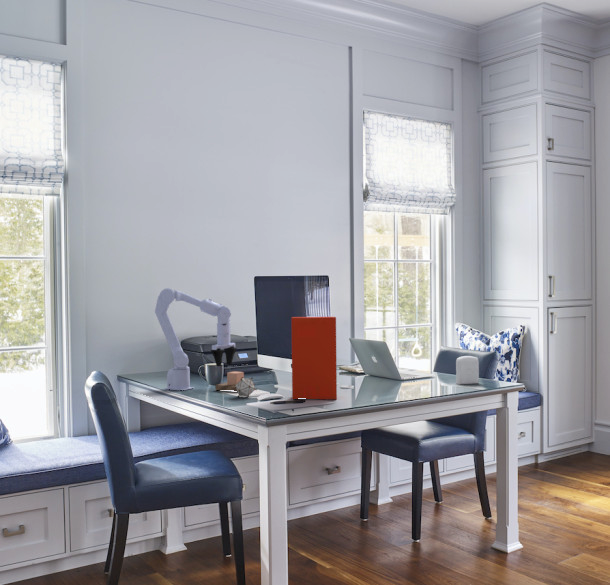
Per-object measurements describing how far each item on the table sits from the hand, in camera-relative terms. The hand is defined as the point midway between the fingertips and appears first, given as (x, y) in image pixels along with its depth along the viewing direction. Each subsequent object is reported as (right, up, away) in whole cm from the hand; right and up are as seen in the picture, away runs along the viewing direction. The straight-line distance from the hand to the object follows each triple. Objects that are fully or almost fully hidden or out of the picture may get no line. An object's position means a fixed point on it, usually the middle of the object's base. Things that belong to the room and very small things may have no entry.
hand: (224, 365), depth 318 cm
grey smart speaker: (+108, -9, +6) cm, 108 cm away
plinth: (+5, -10, -6) cm, 13 cm away
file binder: (+39, -10, -31) cm, 51 cm away
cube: (+6, -8, -7) cm, 11 cm away
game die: (+11, -10, -26) cm, 30 cm away
